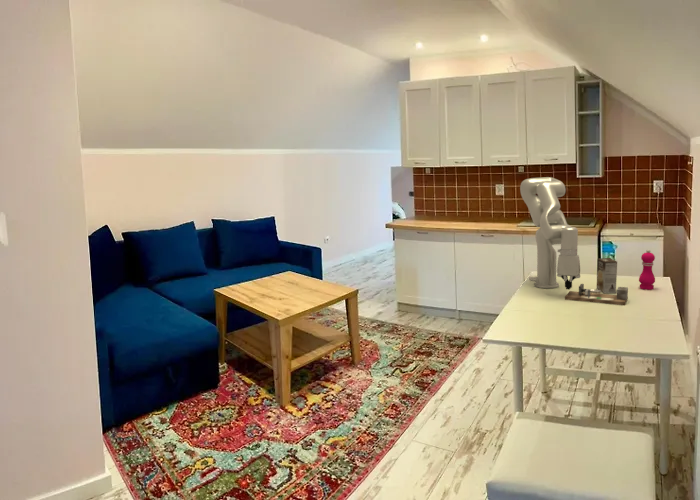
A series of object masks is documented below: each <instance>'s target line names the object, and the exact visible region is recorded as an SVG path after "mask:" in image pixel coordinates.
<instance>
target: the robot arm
mask: <svg viewBox="0 0 700 500" xmlns="http://www.w3.org/2000/svg"><path fill="white" fill-rule="evenodd" d="M519 189H520V195H521V198H522V201H524V204H526V207H527V208H528V211H529V214H530V216H531V219H532V222H533V224H534V226H536V227H537V230H536V232H535V241H536V250H537V252H536V253H537V255H536V257H537V258H536V259H537V260H536V261H537V264H536V265H537V266H536V269H537V270H536V271H537V272H536V275H537V276H535V277H534V276H529V278H528V281H530V282H534V283H533V286H534V287H536V288H541V289H556V288H559V286H560V283H559V282H557V277H558V278H561V279H562V280H563V281H564V287H565V290H568V291H571V288H573V281H574V280H575V279H580V278H581V262H580V255H579V254H578V245H579V243H578V241H579V240H578V239H579V238H578V236H579V235H578V234H579V232H578V231H579V230H578V228H577V227H574V226H571V225H570V224H568V222H567V220H566V216H565V215H564V213H563V211H562V210H561V204H560V201H559V198H561V197H563V196H565V194H566V185H565V184H564V183H563V181H561V180H559V179H557V178H554V177H552V176H550V177H549V176H546V177H531V178H526V179H524V180H522V181H521V183H520V186H519ZM553 245H560V248H559V249H558V248H557V251H556V249H555V247H554V246H553ZM557 253H560V254H559V255H557ZM557 256H558V258H557ZM568 277H569V278H568Z"/></svg>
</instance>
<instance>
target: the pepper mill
mask: <svg viewBox="0 0 700 500" xmlns="http://www.w3.org/2000/svg"><path fill="white" fill-rule="evenodd" d="M640 257H641V261H642V262H641V265H642V271H641V274H640V275H639V277H638V282H639V289H641V290H644V291H652V290H654V288H655V287H654V286H655V285H654V284H655V283H656V276H655V275H654V273H653V266H654V261H655V259H656V256H655V254H654V253H652V252H651V249H646V252H644V253H642V255H641V256H640Z"/></svg>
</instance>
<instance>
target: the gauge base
mask: <svg viewBox="0 0 700 500" xmlns="http://www.w3.org/2000/svg"><path fill="white" fill-rule="evenodd" d="M628 292H629V288H628V286H627V287H625V286H618V287H617V288H616V294H609V293H600V294H599V293H590V296H589V297H588V294H587V295H585V292H583V293H582V295H579V291H572V290H568V293H566V295H565V297H564V300H566V301H574V302H575V301H577V302H585V303H586V302H587V303H597V304H598V303H599V304H606V305H607V304H608V305H619V306H626V304H627V301H628V300H629V295H628Z"/></svg>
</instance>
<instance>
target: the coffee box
mask: <svg viewBox="0 0 700 500" xmlns="http://www.w3.org/2000/svg"><path fill="white" fill-rule="evenodd" d="M596 266H597V267H596V290H601V294H615V293H616V294H617V278H618V276H617V275H618V260H615V259H613V258H611V257H602V258H597V265H596Z"/></svg>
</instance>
